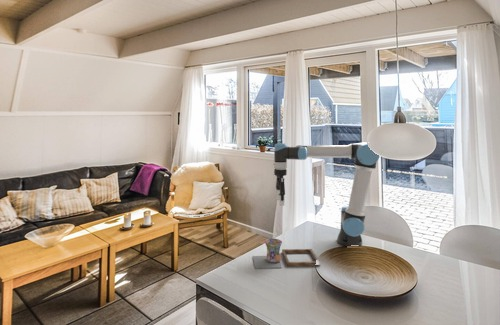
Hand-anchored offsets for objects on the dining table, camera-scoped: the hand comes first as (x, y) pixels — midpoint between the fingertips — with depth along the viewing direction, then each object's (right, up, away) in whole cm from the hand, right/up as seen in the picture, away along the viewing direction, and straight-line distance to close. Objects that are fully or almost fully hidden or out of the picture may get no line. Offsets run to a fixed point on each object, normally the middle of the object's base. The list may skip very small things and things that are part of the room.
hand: (280, 202), depth 181 cm
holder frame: (+9, -29, -18) cm, 35 cm away
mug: (-6, -29, -19) cm, 35 cm away
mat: (-10, -29, -22) cm, 38 cm away
